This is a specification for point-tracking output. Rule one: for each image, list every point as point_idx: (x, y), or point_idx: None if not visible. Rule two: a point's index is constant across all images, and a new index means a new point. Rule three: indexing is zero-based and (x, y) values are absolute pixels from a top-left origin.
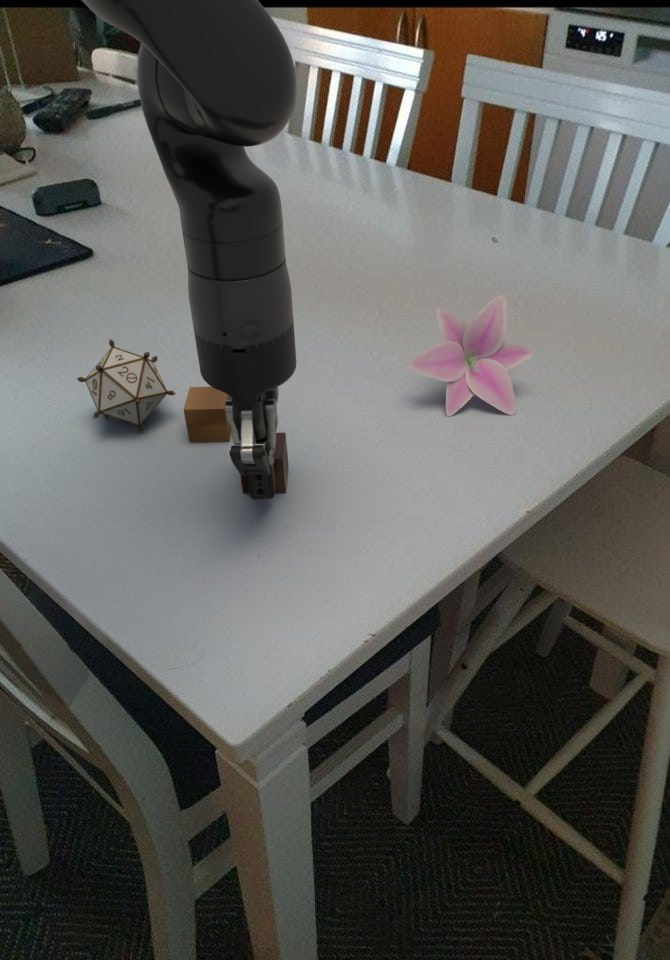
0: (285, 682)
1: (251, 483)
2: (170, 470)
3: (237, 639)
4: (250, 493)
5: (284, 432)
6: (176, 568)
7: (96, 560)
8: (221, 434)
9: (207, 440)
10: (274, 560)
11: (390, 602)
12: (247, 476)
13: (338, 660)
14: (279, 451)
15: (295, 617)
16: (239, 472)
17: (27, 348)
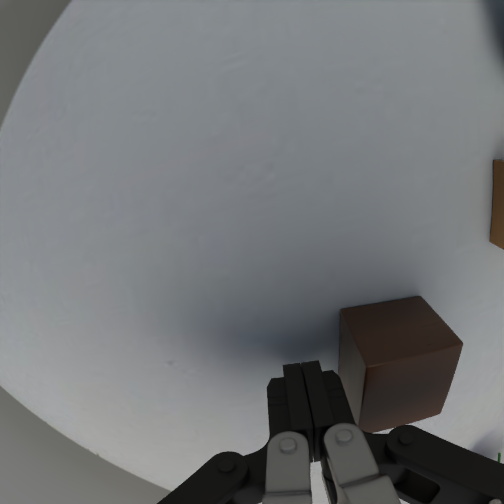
0: (16, 389)
1: (269, 411)
2: (417, 130)
3: (29, 346)
4: (284, 372)
5: (440, 412)
6: (105, 230)
7: (105, 61)
8: (502, 234)
9: (495, 199)
10: (166, 383)
11: (142, 471)
12: (288, 406)
13: (58, 430)
14: (381, 427)
15: (83, 404)
16: (187, 479)
17: None
